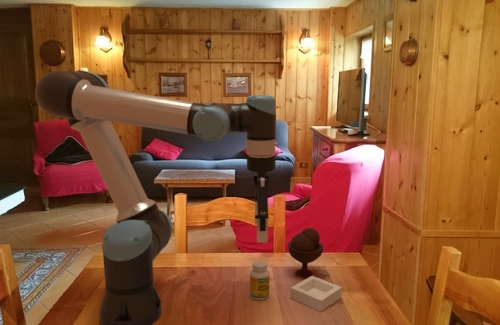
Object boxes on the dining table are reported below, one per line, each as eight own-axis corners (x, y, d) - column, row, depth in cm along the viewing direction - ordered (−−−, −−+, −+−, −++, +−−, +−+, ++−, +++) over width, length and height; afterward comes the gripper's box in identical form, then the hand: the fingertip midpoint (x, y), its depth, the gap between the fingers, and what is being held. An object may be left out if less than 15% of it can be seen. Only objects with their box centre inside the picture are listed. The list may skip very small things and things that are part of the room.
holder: (290, 298, 115) (290, 287, 114) (311, 285, 122) (312, 275, 121) (320, 311, 108) (321, 300, 108) (341, 297, 115) (341, 287, 115)
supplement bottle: (262, 289, 120) (262, 258, 118) (273, 297, 115) (273, 264, 114) (246, 294, 117) (246, 262, 115) (257, 302, 112) (257, 269, 111)
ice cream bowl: (305, 263, 137) (307, 220, 134) (329, 276, 128) (331, 230, 125) (280, 271, 131) (280, 226, 128) (303, 285, 122) (304, 237, 119)
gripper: (280, 164, 96) (279, 250, 100) (271, 147, 121) (271, 217, 125) (247, 164, 96) (248, 250, 100) (246, 148, 121) (246, 217, 125)
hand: (261, 232), depth 113 cm, fingers open, 13 cm apart
